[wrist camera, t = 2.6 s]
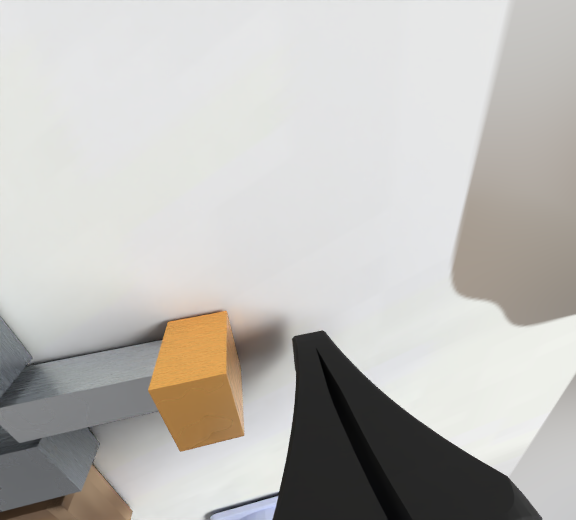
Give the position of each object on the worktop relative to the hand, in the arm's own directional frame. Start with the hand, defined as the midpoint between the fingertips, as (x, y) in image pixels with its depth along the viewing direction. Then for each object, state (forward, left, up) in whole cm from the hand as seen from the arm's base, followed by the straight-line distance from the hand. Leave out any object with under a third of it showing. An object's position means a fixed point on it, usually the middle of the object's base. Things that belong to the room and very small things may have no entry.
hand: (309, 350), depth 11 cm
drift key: (0, +7, -1) cm, 7 cm away
